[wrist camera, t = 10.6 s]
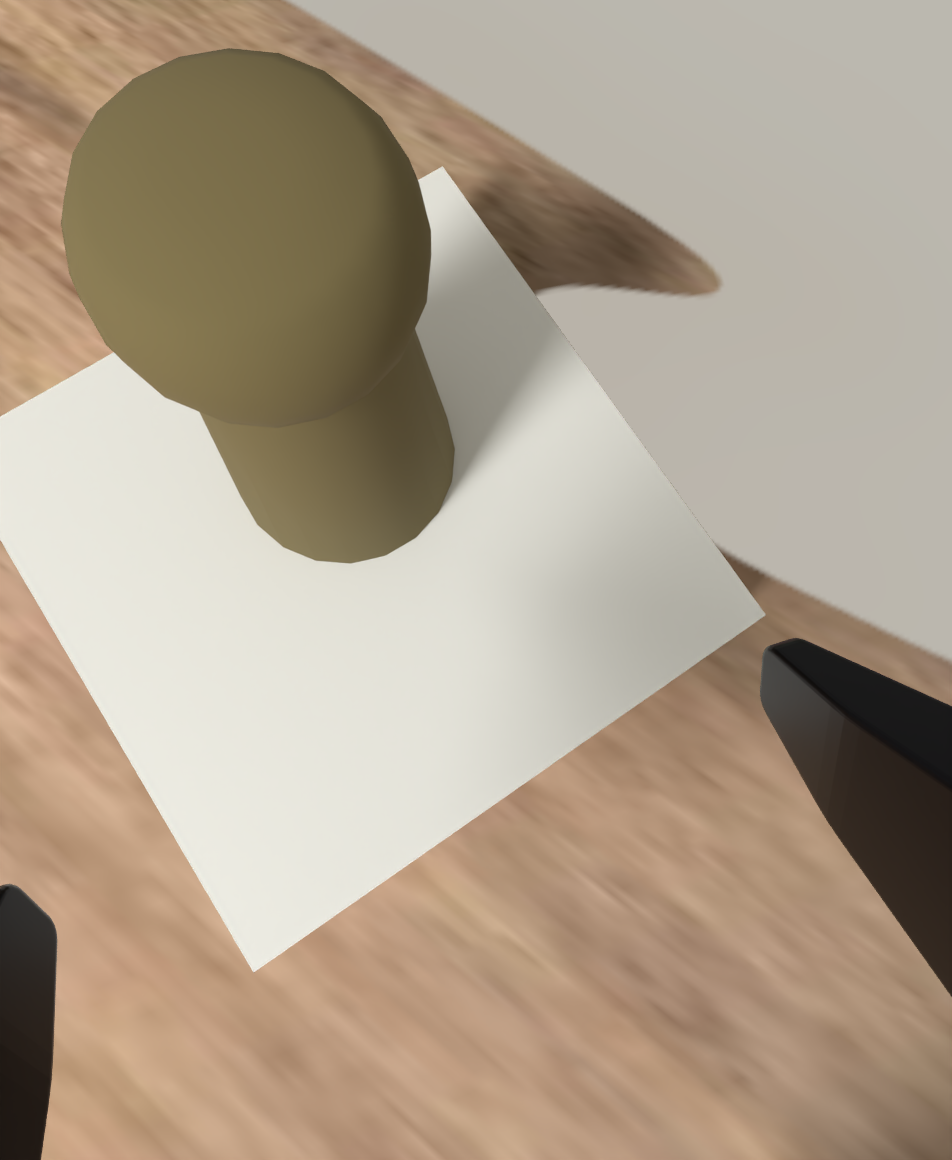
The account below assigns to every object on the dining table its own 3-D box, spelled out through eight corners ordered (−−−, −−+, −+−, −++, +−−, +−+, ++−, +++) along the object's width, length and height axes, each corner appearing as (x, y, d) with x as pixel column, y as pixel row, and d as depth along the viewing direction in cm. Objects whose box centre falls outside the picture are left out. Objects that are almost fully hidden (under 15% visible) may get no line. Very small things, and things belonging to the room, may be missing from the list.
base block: (724, 625, 23) (765, 615, 20) (281, 933, 21) (253, 972, 18) (443, 230, 25) (442, 166, 22) (12, 480, 23) (-54, 447, 20)
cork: (189, 489, 20) (-128, 230, 9) (313, 315, 21) (164, -111, 10) (378, 605, 19) (288, 482, 9) (496, 423, 20) (548, 104, 10)
